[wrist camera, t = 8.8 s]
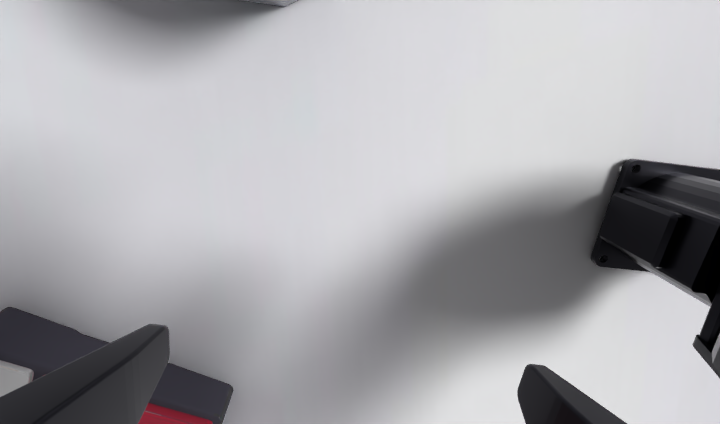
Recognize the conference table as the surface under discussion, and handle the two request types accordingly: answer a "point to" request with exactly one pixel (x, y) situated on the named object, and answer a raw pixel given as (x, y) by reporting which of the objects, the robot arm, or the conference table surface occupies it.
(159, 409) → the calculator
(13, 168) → the conference table surface
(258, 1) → the pot
